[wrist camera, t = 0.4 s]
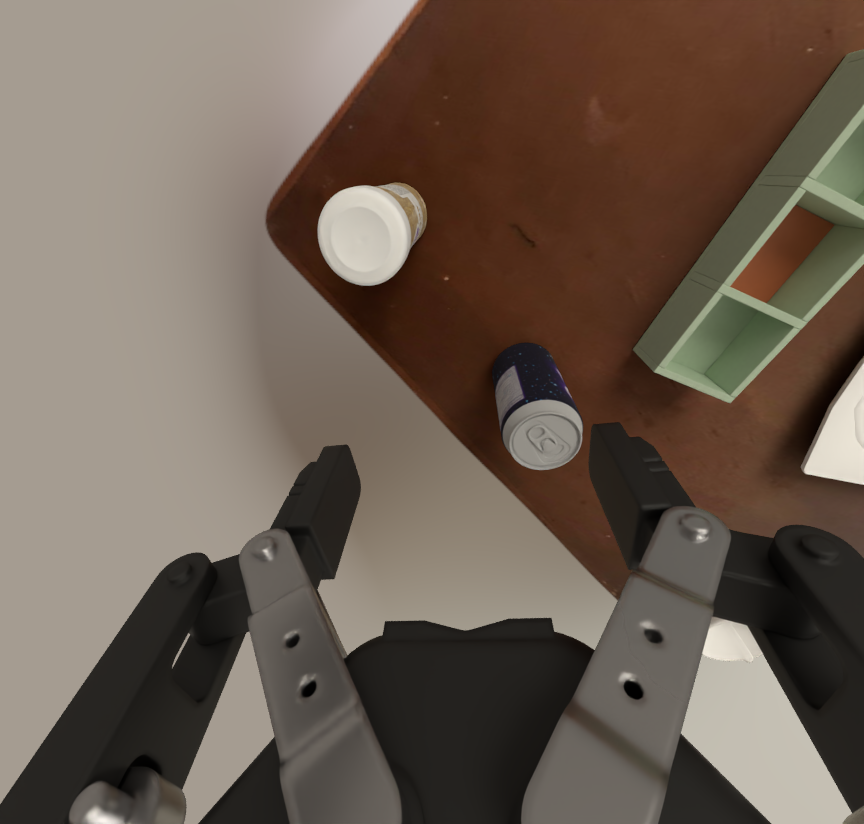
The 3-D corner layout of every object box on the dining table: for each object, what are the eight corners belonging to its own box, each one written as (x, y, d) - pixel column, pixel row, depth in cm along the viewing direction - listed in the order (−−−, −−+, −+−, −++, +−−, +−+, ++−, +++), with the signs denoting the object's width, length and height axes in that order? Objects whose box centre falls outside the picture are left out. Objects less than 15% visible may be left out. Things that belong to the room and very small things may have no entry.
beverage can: (514, 403, 39) (532, 486, 28) (479, 363, 36) (486, 437, 26) (564, 371, 36) (604, 448, 26) (530, 326, 34) (559, 391, 24)
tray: (846, 53, 24) (922, 30, 20) (937, 107, 25) (1025, 95, 21) (631, 349, 35) (653, 372, 31) (701, 378, 36) (730, 403, 32)
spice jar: (422, 251, 32) (399, 296, 20) (367, 239, 31) (313, 277, 20) (433, 188, 29) (414, 199, 18) (373, 174, 29) (316, 176, 17)
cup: (665, 591, 53) (705, 671, 44) (648, 550, 49) (688, 630, 40) (737, 574, 50) (794, 656, 41) (725, 530, 46) (785, 611, 37)
